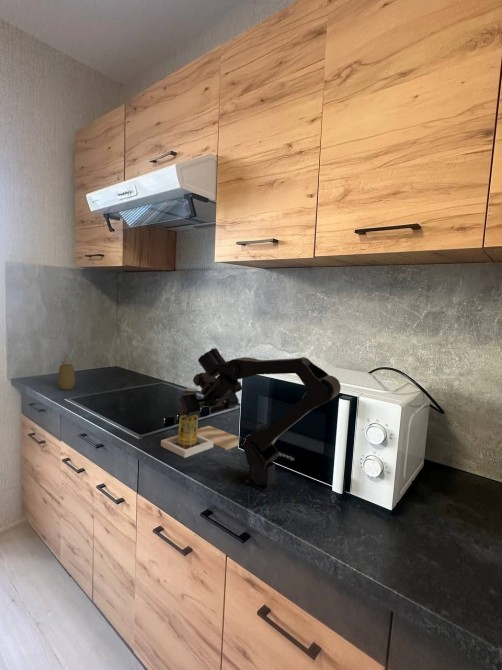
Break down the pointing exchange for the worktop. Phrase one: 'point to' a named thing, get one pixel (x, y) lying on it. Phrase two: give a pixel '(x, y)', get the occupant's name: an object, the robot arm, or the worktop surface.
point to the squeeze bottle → (66, 374)
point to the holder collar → (184, 453)
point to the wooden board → (218, 437)
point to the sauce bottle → (187, 427)
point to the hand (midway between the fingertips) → (199, 414)
